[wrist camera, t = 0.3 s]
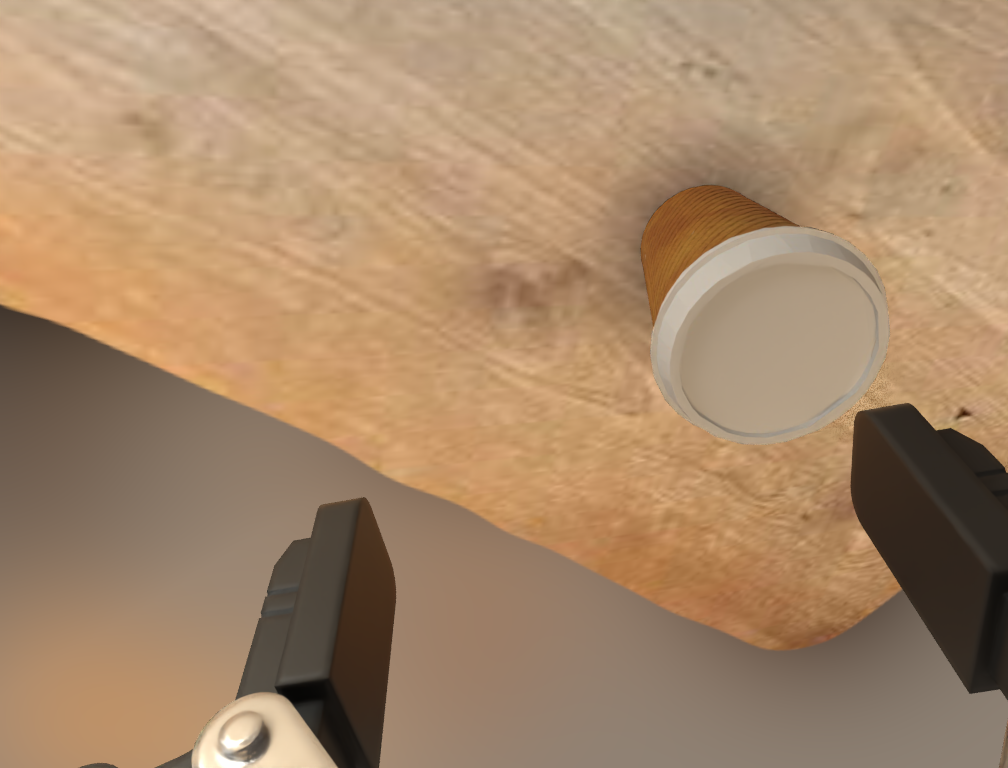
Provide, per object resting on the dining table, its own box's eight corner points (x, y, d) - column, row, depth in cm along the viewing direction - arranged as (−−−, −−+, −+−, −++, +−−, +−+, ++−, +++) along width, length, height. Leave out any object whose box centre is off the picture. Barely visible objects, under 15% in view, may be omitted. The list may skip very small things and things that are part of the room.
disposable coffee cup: (628, 344, 44) (678, 477, 33) (592, 182, 39) (637, 279, 29) (799, 300, 43) (904, 422, 32) (784, 128, 38) (902, 207, 28)
